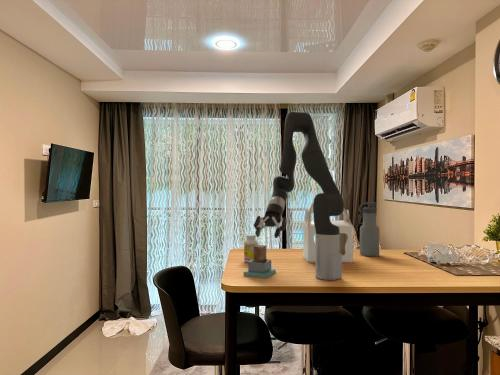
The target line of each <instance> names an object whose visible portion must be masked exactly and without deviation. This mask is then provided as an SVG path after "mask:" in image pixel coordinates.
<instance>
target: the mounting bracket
mask: <svg viewBox="0 0 500 375" xmlns="http://www.w3.org/2000/svg"><path fill="white" fill-rule="evenodd" d="M425 248H426V253H427V254H426V255H427V260H428V261H429V260H431V261H432V260H434V262H436V263H439V262H440V263H446V262H448V263H449V262H457V263H458V262H461V259H460V258H459V256H458V255H457V252H456V251H455V250H454V249H451V250H449V249H448V247H447V245H446V244H426V247H425ZM434 250H438V251H440V252H441V253H440V252H437V253H433V251H434ZM449 258H450V259H449ZM438 261H439V262H438ZM461 263H462V262H461Z"/></svg>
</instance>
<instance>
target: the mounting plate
mask: <svg viewBox="0 0 500 375" xmlns="http://www.w3.org/2000/svg"><path fill="white" fill-rule="evenodd" d="M274 274H276V268H271V270H269V271H268V272H266V273H258V272H249V271H248V269H246V270H244V271H243V276H244V275H246V277H253V278H262V279H268V278H269V277H271V276H273V275H274Z"/></svg>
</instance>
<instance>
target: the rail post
mask: <svg viewBox="0 0 500 375" xmlns="http://www.w3.org/2000/svg"><path fill="white" fill-rule="evenodd" d="M266 259H267V245H264V244H258V245H256V246H254V262H263V263H264V262H266Z"/></svg>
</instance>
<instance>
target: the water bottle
mask: <svg viewBox="0 0 500 375" xmlns="http://www.w3.org/2000/svg"><path fill="white" fill-rule="evenodd" d="M367 205H369V206H367ZM376 205H377V203H376V202H375V201H374V202H373V201H371V202H370V201H367V202H362V203H361V204H359V206H358V212H359V214H358V216H357V217H358V220H357V222H358V225H361V226H360V227H359V254H360V255H361V256H363V255H365V256H364V257H379V256H380V227H379V226H378V225H377V212H378V211H377V207H376ZM361 216H362V222H361Z"/></svg>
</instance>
